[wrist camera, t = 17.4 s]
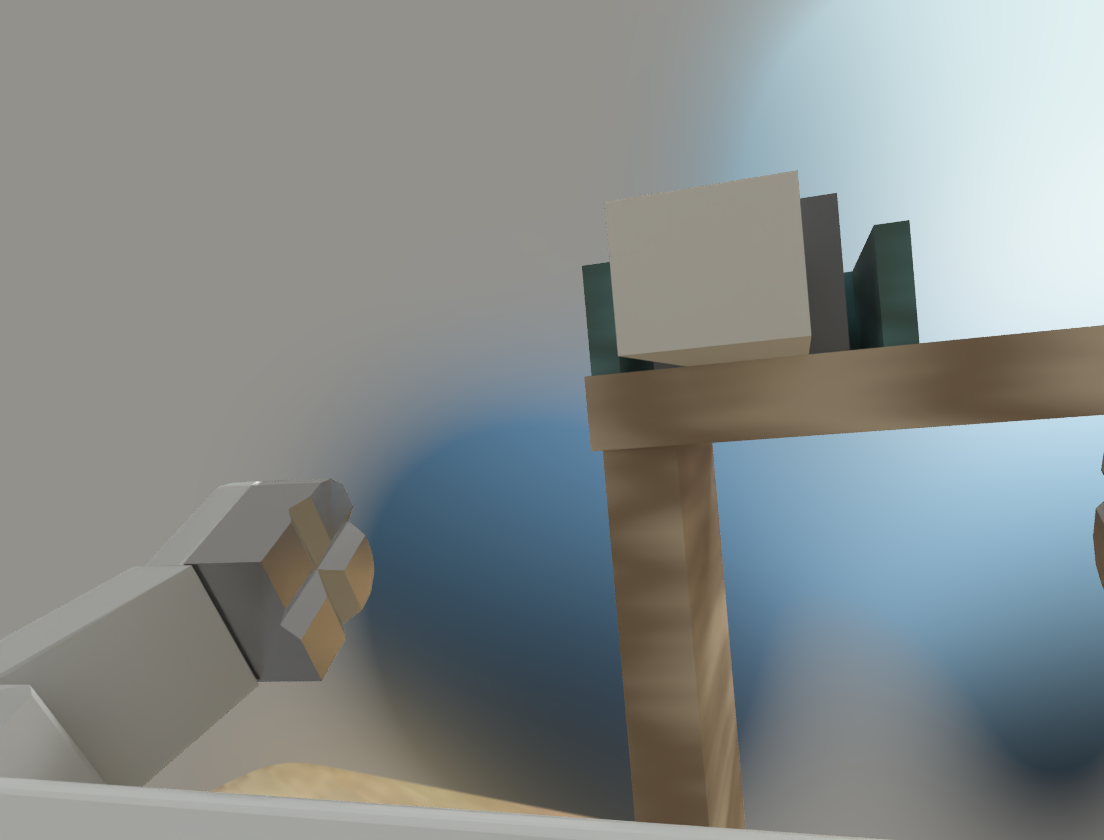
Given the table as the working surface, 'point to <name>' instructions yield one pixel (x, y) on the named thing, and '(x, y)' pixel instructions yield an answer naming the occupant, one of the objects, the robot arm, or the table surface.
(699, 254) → the beige and grey block
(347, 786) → the table surface
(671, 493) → the brown and teal frame
